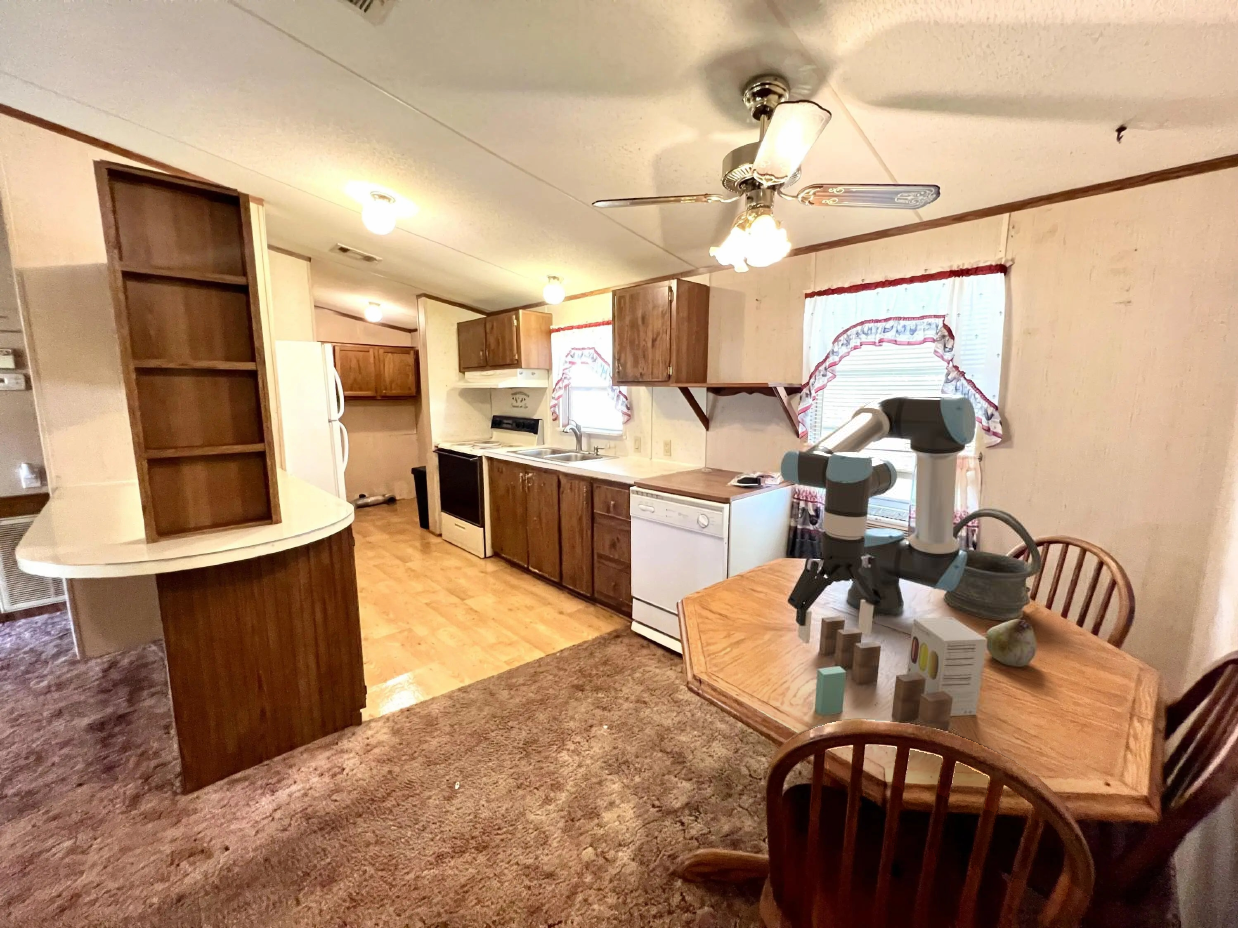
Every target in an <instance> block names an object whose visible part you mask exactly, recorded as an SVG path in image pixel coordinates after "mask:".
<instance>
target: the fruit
mask: <svg viewBox="0 0 1238 928" xmlns="http://www.w3.org/2000/svg"><path fill="white" fill-rule="evenodd" d="M984 638H986V639H987V647H986V650H987V651H988V653H989V654H990V655H991V657H993V658H994V659H995V660H997V661H998V662H1000V663H1002V664H1004V665H1006V666H1011V667H1015V668H1018V667H1025V666H1027V665H1029V664H1030V663H1031V662H1032V660H1033V659H1034V657H1035V655H1036V652H1037V650H1038V643H1037V639H1036V636H1035V633H1034V629H1033V627H1032V625H1031V624H1030V623H1028V621H1027V620H1023V619H1021V618H1020V619H1015V620H1011V621H1005V622H1001V623H1000V624H998V625H995V626H992V627H991V628H989V629H988V630H987V631H986V633H985V635H984Z"/></svg>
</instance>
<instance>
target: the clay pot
mask: <svg viewBox="0 0 1238 928" xmlns="http://www.w3.org/2000/svg"><path fill="white" fill-rule="evenodd" d="M979 518H991V519H995V520H998V521H1001V522H1002V523H1004V524H1005V525H1006V526H1008V527H1009V528H1010V529H1012V530H1013V532H1014V533H1016V534H1017V535H1018V536H1019V537H1020V538H1021V539H1022V541H1023V542H1024V544H1025V545H1026V547H1027V549H1028V551H1029V553H1030V556H1031V562H1028V561H1025V560H1021V559H1019V558H1015V557H1012V556H1008V555H1003V554H999V553H993V552H988V551H984V550H983V551H982V550H976V549H960V548H959V550H962V551H964V552H966V553H967V561H966V565H965V568H964V571H963V574H962V577H961V579H960V581H959V583H958V585H957V586H956V588H955V589H954V590H952V591H945V593H944V595H943V597H944V600H945V602H947V604H948V605H950V606H952V608H955V610H959V611H960V612H964V613H966V614H969V615H971V616H976V617H978V618H979V617H980V618H983V619H988V620H994V621H1005V622H1008V621H1011V620H1015V619H1020V620H1021V618H1022V617H1023V615H1024V611H1023V609H1024V607H1025V606H1026V607H1027V606H1028V605H1030V603H1031V600H1030V597H1029V593H1030V592H1031V588H1030V587H1029V586H1027V579H1028V578H1030V577H1034V576H1035V575H1037V574H1038V573H1040V571H1041V569H1042V564H1043V563H1042V556H1041V553H1040V551H1039V549H1038V547H1037V544H1036V543H1035V541H1034V539H1033V538H1032V535H1031V534H1030V533H1029V532H1028V530H1027V529H1026V528H1025V526H1024V525H1023V523H1021V521H1019V519H1017V518H1016V517H1015V516H1013V515H1012V514H1011V513H1008V512H1007V511H1005V510H1003V509H998V508H992V507H990V508H989V507H987V508H986V507H985V508H981V509H977V510H975V511H973V512H971V513H969V514H967V515H966V516H964V517H963V518H962V519H960V520H959V521H958V522H957V523H956V524H954V525H953V537H954V538H955V539H957V537H958V535H959V533H960V532H961V531H962V530H963V529H964V527H965V526H966V525H968V524H969V523H971V522H972V521H974V520H976V519H979Z"/></svg>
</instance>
